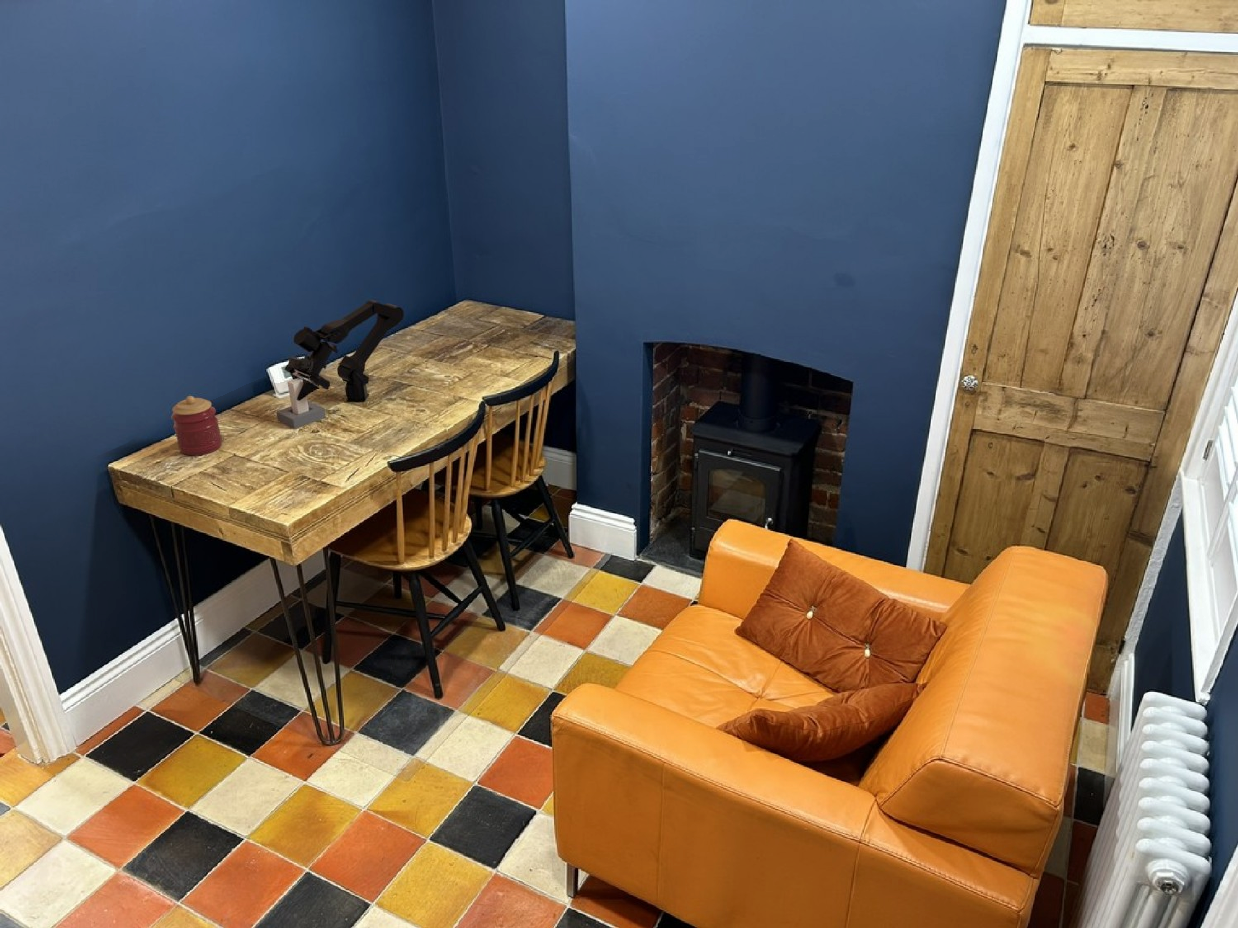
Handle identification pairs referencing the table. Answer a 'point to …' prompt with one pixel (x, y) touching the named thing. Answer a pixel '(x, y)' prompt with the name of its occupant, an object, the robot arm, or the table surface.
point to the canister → (196, 426)
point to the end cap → (301, 416)
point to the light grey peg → (294, 391)
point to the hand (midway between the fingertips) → (294, 398)
